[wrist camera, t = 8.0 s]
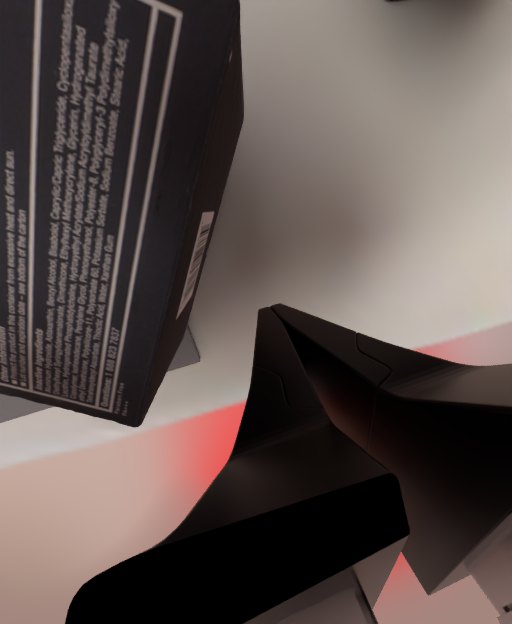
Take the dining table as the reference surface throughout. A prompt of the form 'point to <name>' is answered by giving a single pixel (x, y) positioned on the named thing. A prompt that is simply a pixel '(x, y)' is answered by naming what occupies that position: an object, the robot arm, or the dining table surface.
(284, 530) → the robot arm
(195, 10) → the small box
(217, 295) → the dining table surface
